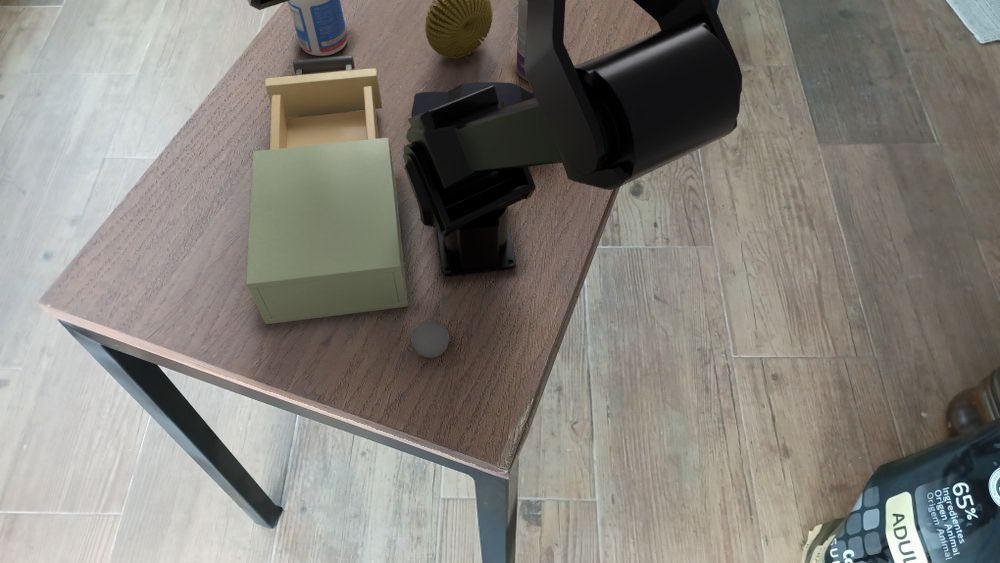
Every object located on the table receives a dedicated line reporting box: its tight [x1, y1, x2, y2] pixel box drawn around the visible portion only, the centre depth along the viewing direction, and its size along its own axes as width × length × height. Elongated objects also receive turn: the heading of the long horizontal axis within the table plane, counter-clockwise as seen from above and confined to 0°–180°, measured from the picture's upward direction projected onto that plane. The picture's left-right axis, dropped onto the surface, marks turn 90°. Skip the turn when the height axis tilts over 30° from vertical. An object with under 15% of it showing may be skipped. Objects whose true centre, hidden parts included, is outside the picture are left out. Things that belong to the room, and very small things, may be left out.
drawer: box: [265, 54, 383, 150], centre depth 70 cm, size 18×11×4 cm, turn 9°
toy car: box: [410, 81, 535, 128], centre depth 71 cm, size 6×15×5 cm, turn 89°
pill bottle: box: [287, 0, 349, 57], centre depth 77 cm, size 6×5×10 cm
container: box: [516, 0, 528, 82], centre depth 73 cm, size 5×5×15 cm
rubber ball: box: [410, 319, 450, 359], centre depth 58 cm, size 3×3×3 cm
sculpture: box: [424, 0, 494, 59], centre depth 77 cm, size 8×4×8 cm, turn 129°
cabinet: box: [245, 137, 409, 325], centre depth 63 cm, size 14×12×6 cm
